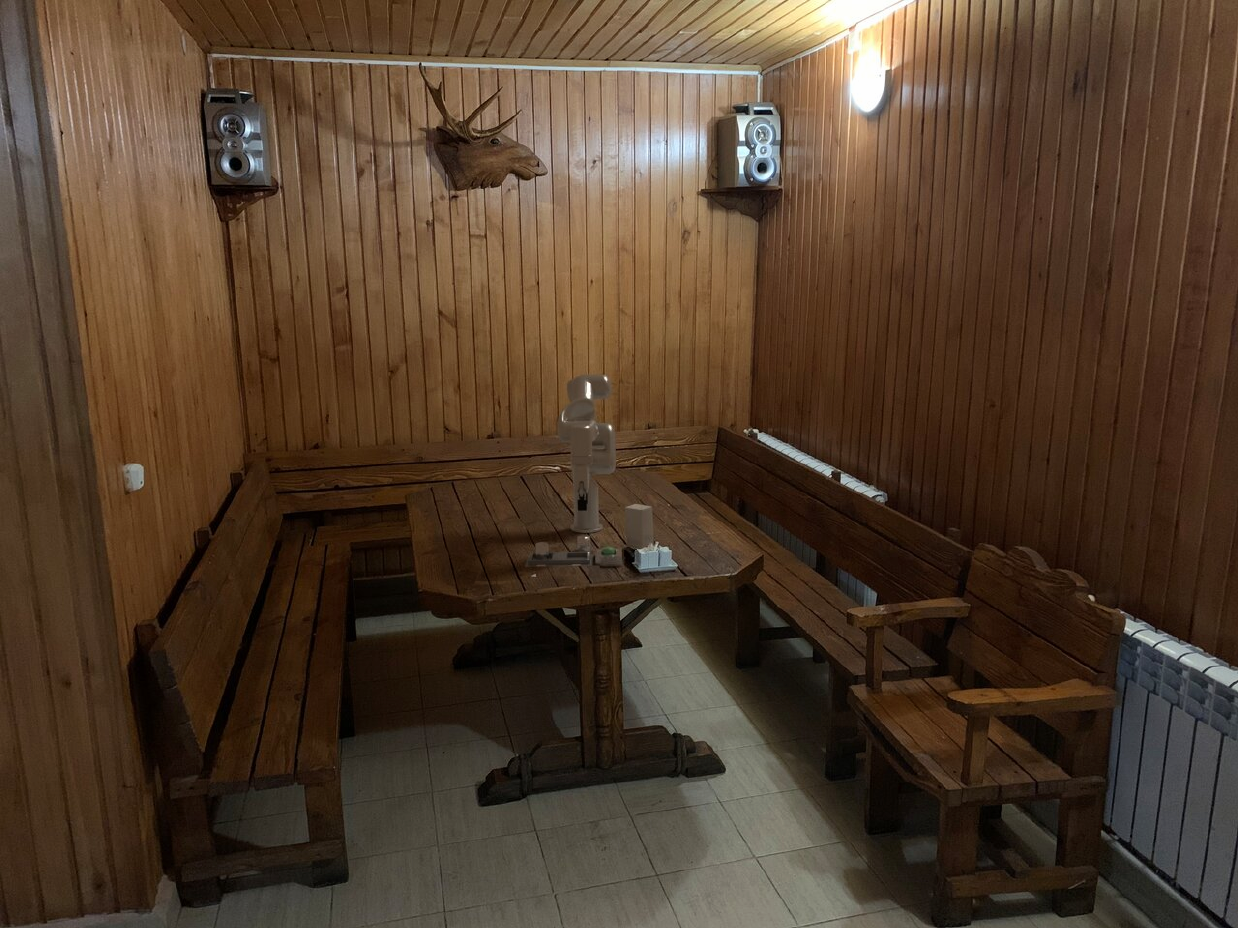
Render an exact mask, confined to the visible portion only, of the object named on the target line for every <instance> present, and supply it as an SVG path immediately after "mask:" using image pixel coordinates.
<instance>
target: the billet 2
mask: <svg viewBox="0 0 1238 928" xmlns="http://www.w3.org/2000/svg"><path fill="white" fill-rule="evenodd" d="M576 537H577V539H576V540H577V552H591V536H590V535H588V534H587V535H586V534H582V535H578V536H576Z"/></svg>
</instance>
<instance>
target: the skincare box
mask: <svg viewBox="0 0 1238 928" xmlns="http://www.w3.org/2000/svg"><path fill="white" fill-rule="evenodd" d="M624 520H625V523H624V524H625V540H626V541H625V543H626V548H627V547H633V548H642V547H646V546H648V545H649V543H654V523H653V521H654V520H653V506H650V505H645V504H644V505H643V504H638V503H634V504H631V505H628V506H625V507H624Z"/></svg>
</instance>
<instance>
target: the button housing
mask: <svg viewBox="0 0 1238 928" xmlns="http://www.w3.org/2000/svg"><path fill="white" fill-rule="evenodd" d="M622 549H623V548H621V547H619V548H618V547H617V548H616V547H614V551H615V555H603V548H595V564H596V565H599V567H622V566H623V552H622Z"/></svg>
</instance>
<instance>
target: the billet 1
mask: <svg viewBox="0 0 1238 928" xmlns="http://www.w3.org/2000/svg"><path fill="white" fill-rule="evenodd" d="M534 546H535V553H536V560H543V559H549V552H550V549H549V548H550V547H549V542H545V541H539V542H536V543H535V545H534Z"/></svg>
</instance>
